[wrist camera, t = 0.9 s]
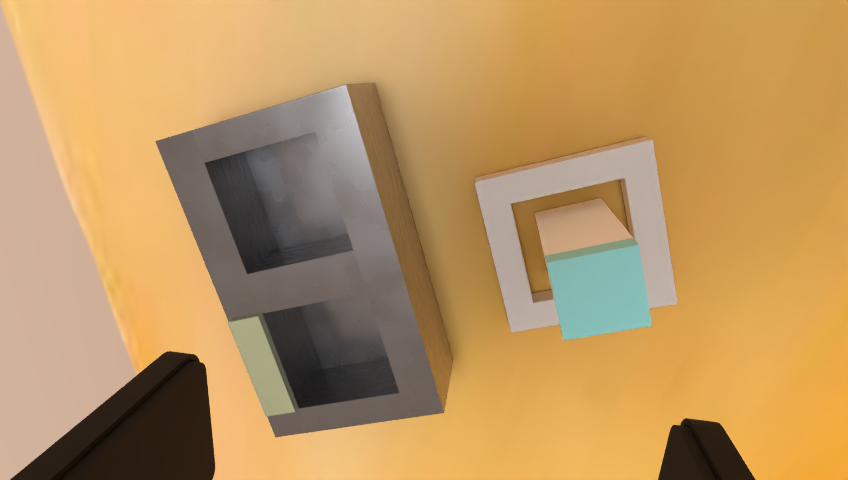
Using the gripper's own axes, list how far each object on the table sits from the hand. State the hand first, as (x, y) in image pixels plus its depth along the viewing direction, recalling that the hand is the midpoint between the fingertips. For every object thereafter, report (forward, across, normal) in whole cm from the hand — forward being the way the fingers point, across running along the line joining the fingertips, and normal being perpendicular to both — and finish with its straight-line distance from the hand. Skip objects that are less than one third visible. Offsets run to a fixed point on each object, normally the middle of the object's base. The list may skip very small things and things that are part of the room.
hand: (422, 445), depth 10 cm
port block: (+23, +9, +5) cm, 25 cm away
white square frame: (+23, -6, +2) cm, 24 cm away
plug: (+23, -6, +2) cm, 24 cm away
